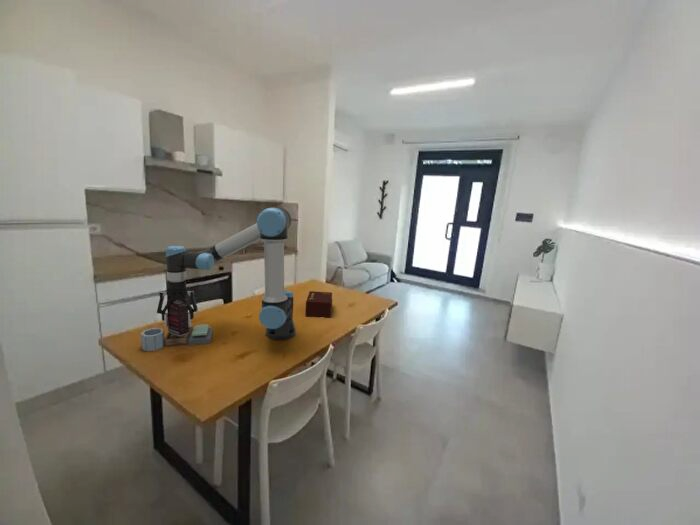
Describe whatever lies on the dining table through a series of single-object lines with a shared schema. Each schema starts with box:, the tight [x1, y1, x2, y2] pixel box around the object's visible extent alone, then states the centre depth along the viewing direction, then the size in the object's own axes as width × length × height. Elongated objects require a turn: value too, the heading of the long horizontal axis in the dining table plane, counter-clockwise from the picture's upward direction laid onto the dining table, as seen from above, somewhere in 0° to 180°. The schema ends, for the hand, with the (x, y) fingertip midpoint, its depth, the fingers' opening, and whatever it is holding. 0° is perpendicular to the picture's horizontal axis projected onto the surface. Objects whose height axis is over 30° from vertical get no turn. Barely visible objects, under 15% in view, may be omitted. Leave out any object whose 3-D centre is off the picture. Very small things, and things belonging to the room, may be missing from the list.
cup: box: [140, 327, 165, 352], centre depth 132 cm, size 8×8×7 cm
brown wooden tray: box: [163, 326, 194, 348], centre depth 141 cm, size 10×14×3 cm
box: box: [305, 290, 334, 319], centre depth 190 cm, size 21×16×10 cm
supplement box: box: [166, 300, 189, 337], centre depth 140 cm, size 9×5×16 cm, turn 64°
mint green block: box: [192, 323, 210, 336], centre depth 143 cm, size 6×10×4 cm, turn 19°
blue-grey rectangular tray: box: [187, 327, 214, 346], centre depth 144 cm, size 9×12×2 cm
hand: (178, 326), depth 140 cm, fingers open, 9 cm apart
